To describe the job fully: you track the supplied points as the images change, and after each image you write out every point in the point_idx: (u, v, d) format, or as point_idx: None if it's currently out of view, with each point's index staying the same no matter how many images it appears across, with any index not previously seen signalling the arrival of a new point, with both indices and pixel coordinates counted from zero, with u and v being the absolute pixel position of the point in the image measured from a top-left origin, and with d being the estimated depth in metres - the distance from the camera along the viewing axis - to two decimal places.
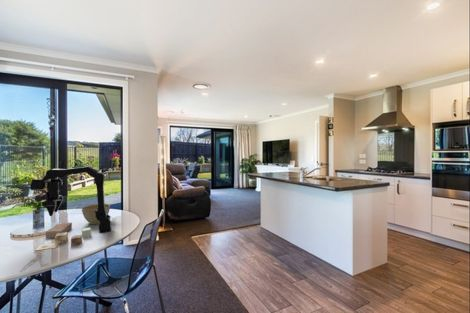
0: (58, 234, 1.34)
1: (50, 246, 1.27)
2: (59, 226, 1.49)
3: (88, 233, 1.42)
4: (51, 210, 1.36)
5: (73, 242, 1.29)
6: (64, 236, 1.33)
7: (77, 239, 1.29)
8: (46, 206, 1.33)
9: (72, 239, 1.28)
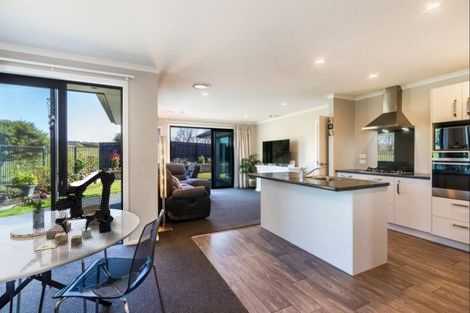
0: (58, 234, 1.34)
1: (50, 246, 1.27)
2: (59, 226, 1.49)
3: (88, 233, 1.42)
4: None
5: (73, 242, 1.29)
6: (64, 236, 1.33)
7: (77, 239, 1.29)
8: None
9: (72, 239, 1.28)
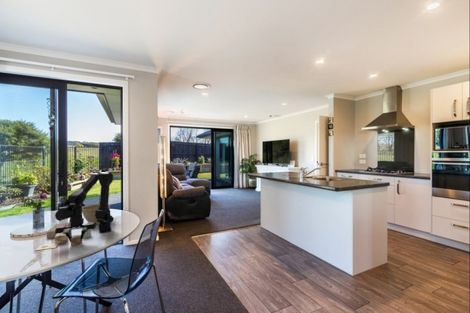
0: (58, 234, 1.34)
1: (50, 246, 1.27)
2: None
3: (88, 233, 1.42)
4: None
5: (73, 242, 1.29)
6: (64, 236, 1.33)
7: (77, 239, 1.29)
8: None
9: (72, 239, 1.28)
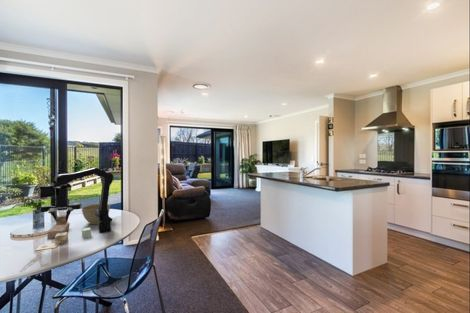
0: (58, 234, 1.34)
1: (50, 246, 1.27)
2: (58, 226, 1.49)
3: (88, 233, 1.42)
4: None
5: (58, 221, 1.31)
6: (64, 236, 1.33)
7: (62, 218, 1.32)
8: None
9: (57, 218, 1.31)
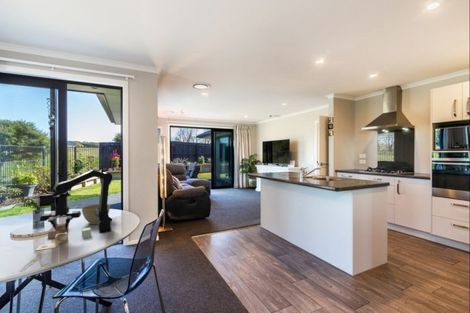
0: (58, 234, 1.34)
1: (50, 246, 1.27)
2: None
3: (88, 233, 1.42)
4: None
5: (58, 230, 1.32)
6: (64, 236, 1.33)
7: (61, 227, 1.33)
8: None
9: (57, 227, 1.32)
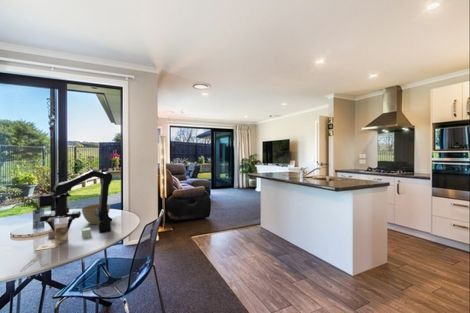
0: None
1: (50, 246, 1.27)
2: None
3: (88, 233, 1.42)
4: None
5: (58, 232, 1.32)
6: (64, 236, 1.33)
7: (61, 229, 1.33)
8: None
9: (57, 229, 1.32)
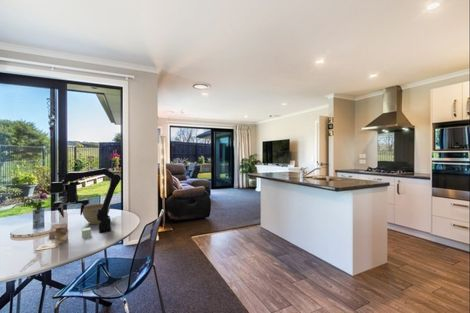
0: None
1: (50, 246, 1.27)
2: None
3: (88, 233, 1.42)
4: None
5: (58, 232, 1.32)
6: (64, 236, 1.33)
7: (61, 229, 1.33)
8: None
9: (57, 229, 1.32)
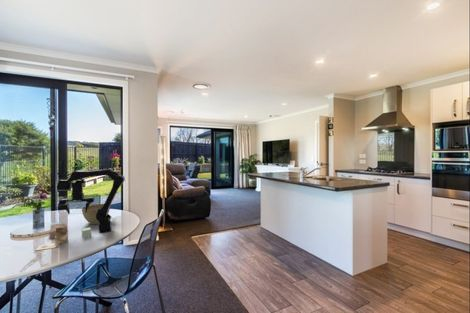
0: None
1: (50, 246, 1.27)
2: None
3: (88, 233, 1.42)
4: None
5: (58, 232, 1.32)
6: (64, 236, 1.33)
7: (61, 229, 1.33)
8: None
9: (57, 229, 1.32)
